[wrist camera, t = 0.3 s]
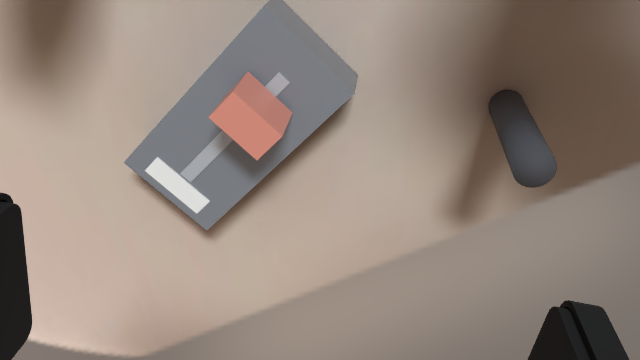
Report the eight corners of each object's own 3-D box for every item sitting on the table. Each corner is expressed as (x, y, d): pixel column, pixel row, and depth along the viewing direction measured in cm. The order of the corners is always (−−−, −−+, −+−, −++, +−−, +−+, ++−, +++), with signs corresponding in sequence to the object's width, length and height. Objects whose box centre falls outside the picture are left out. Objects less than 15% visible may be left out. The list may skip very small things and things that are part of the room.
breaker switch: (248, 71, 38) (232, 91, 35) (292, 112, 39) (282, 136, 36) (225, 95, 39) (208, 117, 36) (269, 135, 40) (257, 160, 37)
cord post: (509, 83, 41) (539, 141, 32) (530, 106, 42) (565, 169, 33) (481, 105, 42) (503, 167, 33) (503, 128, 43) (530, 194, 34)
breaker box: (276, -7, 40) (264, 6, 37) (357, 75, 42) (354, 94, 39) (144, 140, 47) (123, 163, 43) (220, 204, 49) (206, 231, 45)
